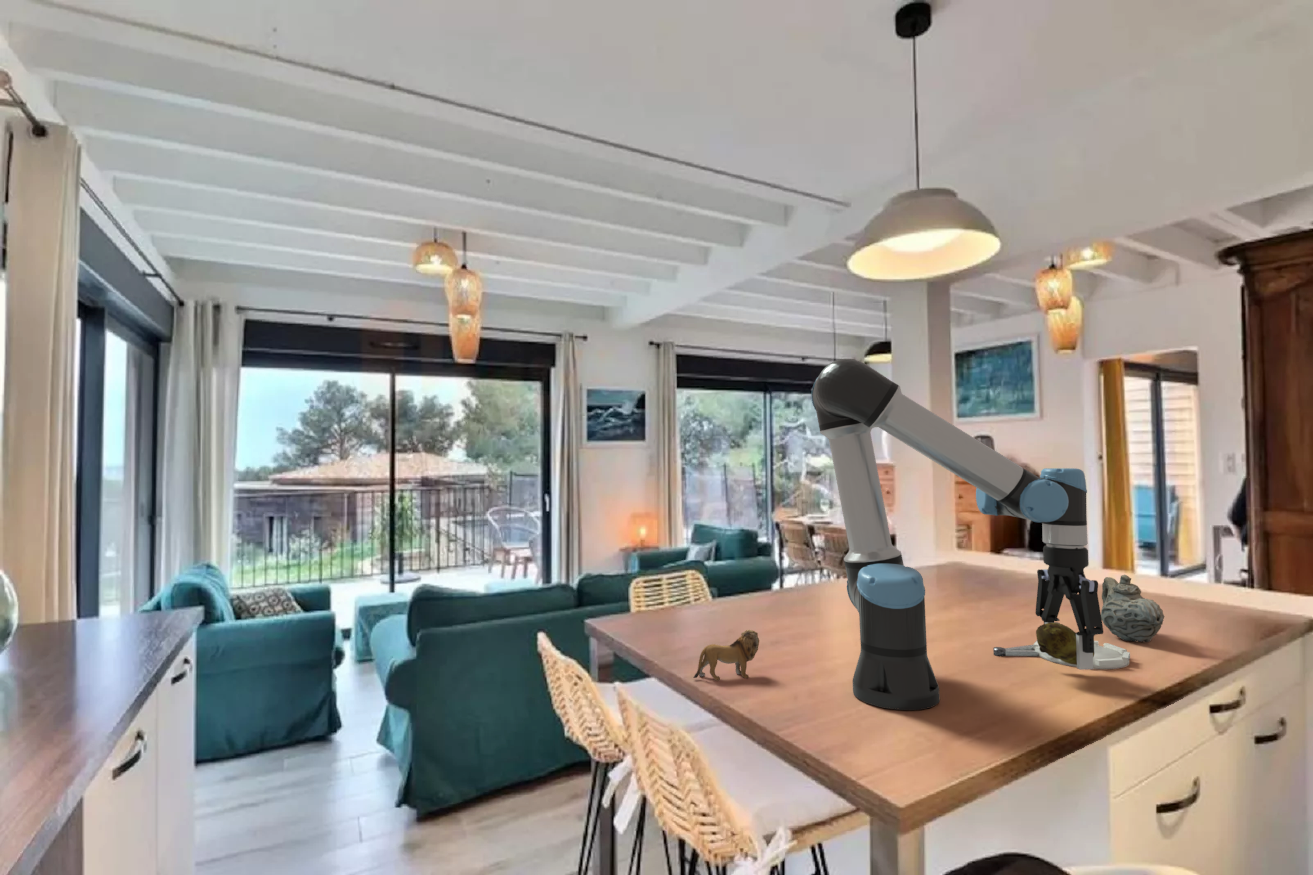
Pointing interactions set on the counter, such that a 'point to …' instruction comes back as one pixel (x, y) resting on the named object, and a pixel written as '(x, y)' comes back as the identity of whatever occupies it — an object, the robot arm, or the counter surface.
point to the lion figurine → (730, 654)
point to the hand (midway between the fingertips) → (1068, 661)
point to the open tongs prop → (1015, 651)
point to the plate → (1097, 656)
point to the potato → (1058, 642)
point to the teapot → (1129, 611)
